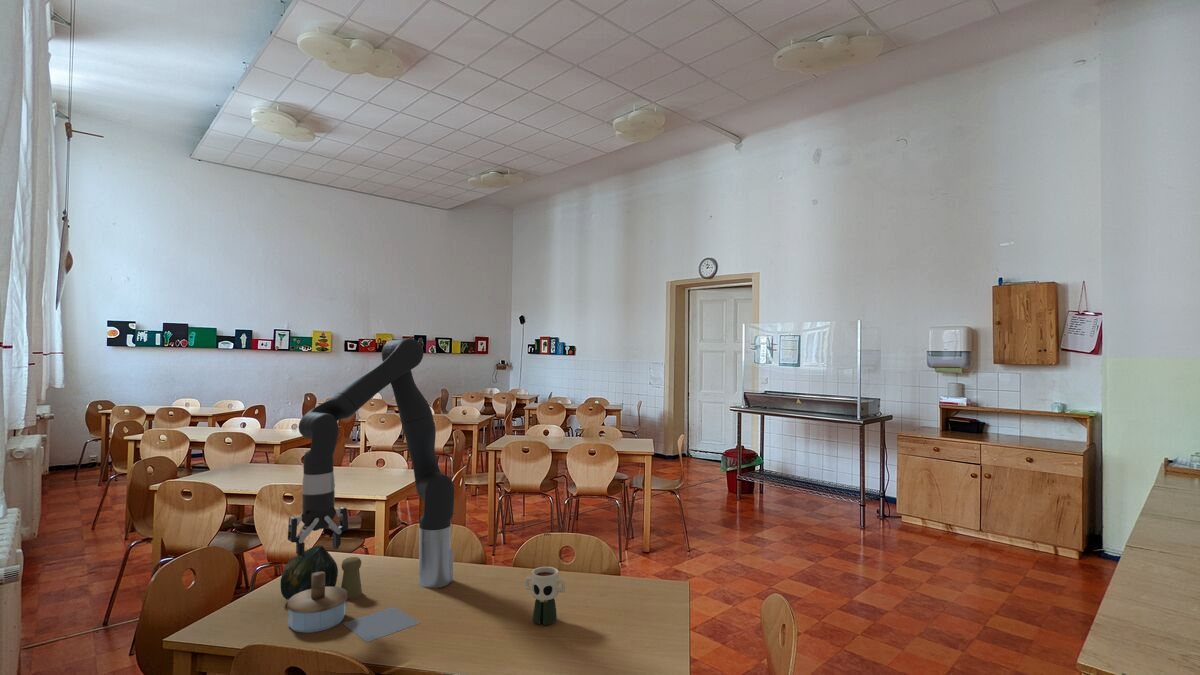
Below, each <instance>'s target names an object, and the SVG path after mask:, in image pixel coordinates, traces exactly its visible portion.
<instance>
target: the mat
mask: <svg viewBox="0 0 1200 675" xmlns="http://www.w3.org/2000/svg"><path fill="white" fill-rule="evenodd" d="M342 624H343V625H344V626H345V627H346V628H347V629H349V630H350V631H352V633H354V634H355V635H356V636H358V637H359V638H360V639H361V640H363V641H364V642H365V643H369V642H372V641H375V640H378V639H381V638H383V637H386V636H389V635H391V634H394V633H395V634H396V633H398V632H400V631H403V630H406V629H408V628H411V627H414V626H417V625H419V624H421V622H420V621H417V620H416V619H415V618H413V617H411V616H410V615H409V614H407V613H405V612H404V611H403V610H400V609H399V608H397V607H396V606H392V607H389V608H384V609H381V610H380V611H377V612H373V613H371V614H367V615H364V616H360V617H358V618H355V619H352V620H348V621H345V622H343V623H342Z"/></svg>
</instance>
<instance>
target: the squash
mask: <svg viewBox="0 0 1200 675" xmlns="http://www.w3.org/2000/svg"><path fill="white" fill-rule="evenodd" d="M315 572H325V587H336V585H337V582H338V581H337V580H338V575H339V568H338V565H337V562H336V560H335V559H334V558H333V556H332V555H331V554H330V553H329V551H328V550H327V549H326V547H325V546H323V545H321V544H317V545H315V546H313V547H310V548H308V549H306V550H305V556H304V557H303V558H301V557H299V556H298V555H296V556H294V557H292V558H291V559H290V560H289V561H288V562H287V563H286V566H285V567H284V569H283V572H282V575H281V577H280V592H281V595H282V596H283V598H285V599H286V600H287V601H288V600H289V599H290V598H291V597H292V596H293V595H295V594H297V593H299V592H302V591H305V590H308V589H311V580H312V574H313V573H315Z"/></svg>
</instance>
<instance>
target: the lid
mask: <svg viewBox="0 0 1200 675" xmlns="http://www.w3.org/2000/svg"><path fill="white" fill-rule="evenodd" d="M347 600H348V599H347V591H346V590H345V589H343V588H341V587H340V586H335V587H325V572H315V573H313V574H312V580H311V589H308V590H305V591H302V592H299V593H297V594H295V595H293V596H292V597H291V598H290V599H289V600H287V606H286V607H287V609H289V610H290V611H292V612H296V613H315V612H321V611H325V610H329V609H332V608H335V607H337V606H339V605H341V604H342V603H344V602H345V601H347Z"/></svg>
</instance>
